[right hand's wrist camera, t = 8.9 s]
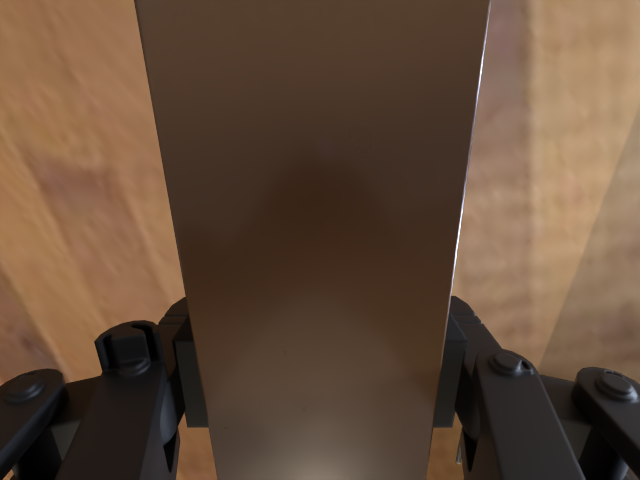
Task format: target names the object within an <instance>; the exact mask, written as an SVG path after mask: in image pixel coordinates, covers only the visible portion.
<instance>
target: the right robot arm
mask: <svg viewBox="0 0 640 480" xmlns="http://www.w3.org/2000/svg"><path fill="white" fill-rule="evenodd" d="M94 343H95V346H96V350H97V353H98V357H99V361H100V364H101V368H102V371H103V372H102V374H101V376H97V377H94V378H89V379H85V380H80V381H75V382H71V383H65V380H64V377H63V374H62V373H61V372H59V371H58V370H55V369H40V370H34V371H30V372H28V373H24V374H21V375H19V376H17V377H15V378H13V379H11V380H9V381H7V382H6V383H4V384H3V385H1V386H0V480H3V478H4V477H5V476H6V475H7V474H8V472H9V471H10V470H11V469H12V470H13V473H14V475H13V476H12V477H11V479H10V480H176V473H177V465H178V456H179V447H180V437H179V431H178V425H179V423H180V421H181V418H182V416H183V414H184V412H185V417H186V422H187V427H209V426H208V421H207V415H206V409H205V403H204V398H203V392H202V386H201V380H200V375H199V369H198V363H197V358H196V352H195V346H194V340H193V335H192V329H191V323H190V318H189V312H188V306H187V300H186V297H184V298H182V299H181V300H179V301H178V302H176V303H175V304H173V305H172V306H171V307H170V309H169V310H168V311H167V312H166V314H165V317H163V318H162V319H161V320H160V322H159V324H158V325H156V324H155V323H153V322H150V321H145V320H140V321H131V322H126V323H122V324H119V325H117V326H115V327H112V328H110V329H108V330H107V331H105V332H104V333H102V334H101V335H100V336H99V337H98V338H97V339H96V340H95V342H94ZM455 411H456V413H457V415H458V417H459V419H460V422H461V424H462V431H461V436H460V441H459V446H458V451H457V456H456V463H458V464H460V463H461V458H462V464H463V472H464V480H640V384H638V383H637V382H636V381H634V380H632V379H630V378H628V377H626V376H624V375H622V374H621V373H618V372H615V371H612V370H608V369H604V368H597V367H588V368H583V369H581V370H580V371H579V372H578V373H577V376H576V379H575V382H572V381H567V380H562V379H558V378H553V377H548V376H544V375H541V374H539V373H538V371H537V370H536V368H535V367H534V366H533V364H532V363H531V362H529V361H528V360H527V359H525V358H524V357H523V356H521V355H518V354H516V353H514V352H512V351H509V350H505V349H502V348H501V346H500V345H499V344H498V343H497V341H496V340H495V339H494V337H493V336H492V335H491V333H490V332H489V331H488V330H487V328H486V327H485V326H484V324H482V323H481V320H480V319H479V318H478V317H477V316H475V313H474V311H473V310H472V309H471V308H470V306H469V305H468V304H467V303H465V302H464V301H462V300H461V299H459V298H458V297H456V296H451V300H450V307H449V314H448V322H447V329H446V336H445V344H444V351H443V358H442V366H441V373H440V380H439V388H438V395H437V402H436V410H435V417H434V424H433V427H452V426H453V421H454V415H455Z"/></svg>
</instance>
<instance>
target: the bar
mask: <svg viewBox="0 0 640 480" xmlns="http://www.w3.org/2000/svg"><path fill="white" fill-rule="evenodd" d="M134 3H135V9H136V14H137V20H138V26H139V31H140V37H141V43H142V49H143V54H144V60H145V66H146V71H147V77H148V83H149V89H150V94H151V100H152V106H153V112H154V117H155V123H156V129H157V134H158V140H159V146H160V152H161V157H162V163H163V169H164V174H165V180H166V186H167V192H168V197H169V203H170V209H171V215H172V220H173V226H174V232H175V237H176V243H177V249H178V255H179V260H180V266H181V272H182V277H183V283H184V289H185V295H186V300H187V306H188V312H189V318H190V323H191V329H192V335H193V340H194V346H195V352H196V358H197V363H198V369H199V375H200V380H201V386H202V392H203V398H204V403H205V409H206V415H207V421H208V426H209V432H210V438H211V443H212V449H213V455H214V461H215V466H216V472H217V478H218V480H426V476H427V468H428V461H429V454H430V446H431V439H432V432H433V424H434V417H435V410H436V402H437V395H438V388H439V380H440V373H441V366H442V358H443V351H444V344H445V336H446V329H447V322H448V314H449V307H450V300H451V292H452V285H453V278H454V270H455V263H456V256H457V248H458V241H459V234H460V226H461V219H462V212H463V204H464V197H465V190H466V182H467V175H468V168H469V160H470V153H471V146H472V138H473V131H474V124H475V116H476V109H477V102H478V94H479V87H480V80H481V72H482V65H483V58H484V50H485V43H486V36H487V28H488V21H489V14H490V6H491V0H134Z"/></svg>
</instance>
